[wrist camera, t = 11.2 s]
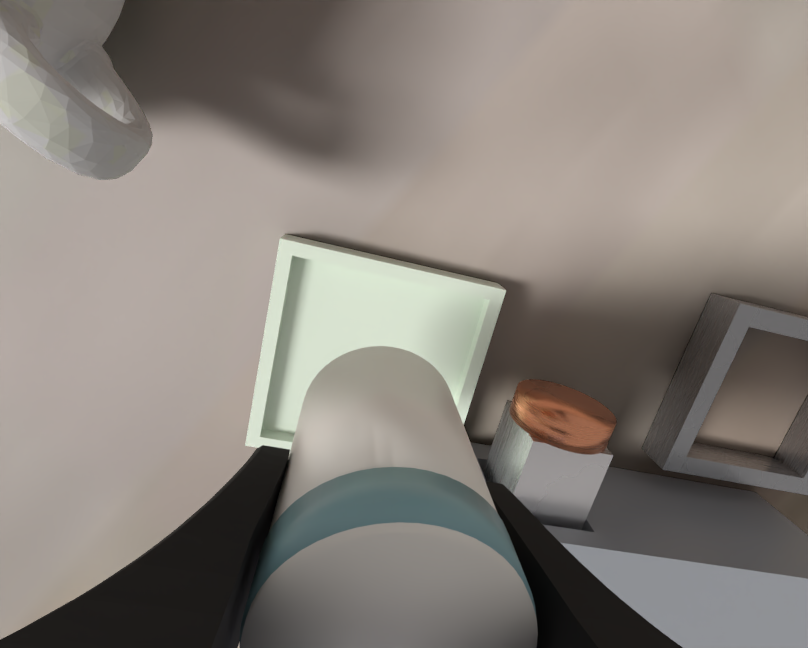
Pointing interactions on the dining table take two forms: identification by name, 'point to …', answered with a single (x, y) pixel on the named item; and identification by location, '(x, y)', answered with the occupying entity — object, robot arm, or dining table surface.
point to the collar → (696, 389)
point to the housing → (695, 559)
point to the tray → (363, 325)
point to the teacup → (69, 87)
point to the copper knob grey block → (552, 451)
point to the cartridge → (385, 523)
